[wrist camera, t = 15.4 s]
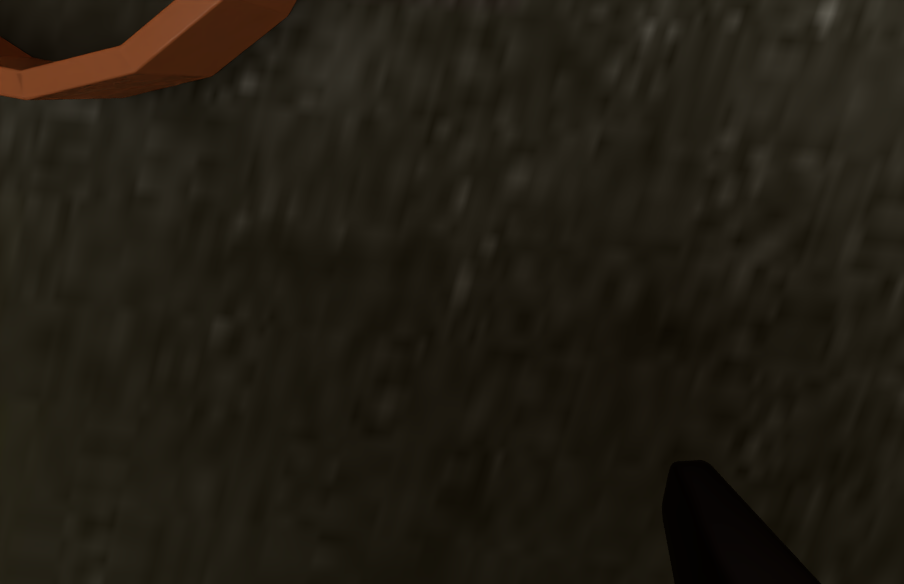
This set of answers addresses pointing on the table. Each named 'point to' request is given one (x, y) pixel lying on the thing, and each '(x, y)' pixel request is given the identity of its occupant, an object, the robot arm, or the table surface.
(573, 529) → the table surface
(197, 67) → the copper pot
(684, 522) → the robot arm
